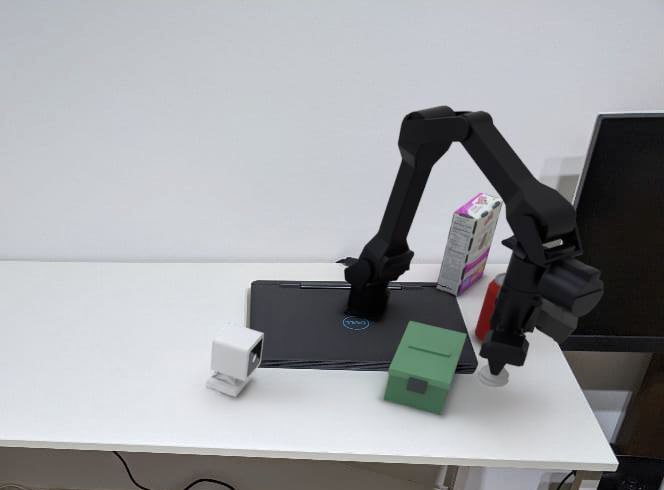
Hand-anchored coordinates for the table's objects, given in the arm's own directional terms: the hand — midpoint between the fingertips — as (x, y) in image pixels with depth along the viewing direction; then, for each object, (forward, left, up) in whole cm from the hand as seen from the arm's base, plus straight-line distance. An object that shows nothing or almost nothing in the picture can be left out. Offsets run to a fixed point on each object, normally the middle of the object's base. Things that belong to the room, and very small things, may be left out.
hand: (495, 369), depth 134 cm
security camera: (-38, -15, -6) cm, 42 cm away
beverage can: (-1, +18, -6) cm, 19 cm away
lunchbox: (-10, 0, -6) cm, 12 cm away
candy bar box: (-10, +36, -6) cm, 38 cm away
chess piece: (0, 0, -2) cm, 2 cm away
